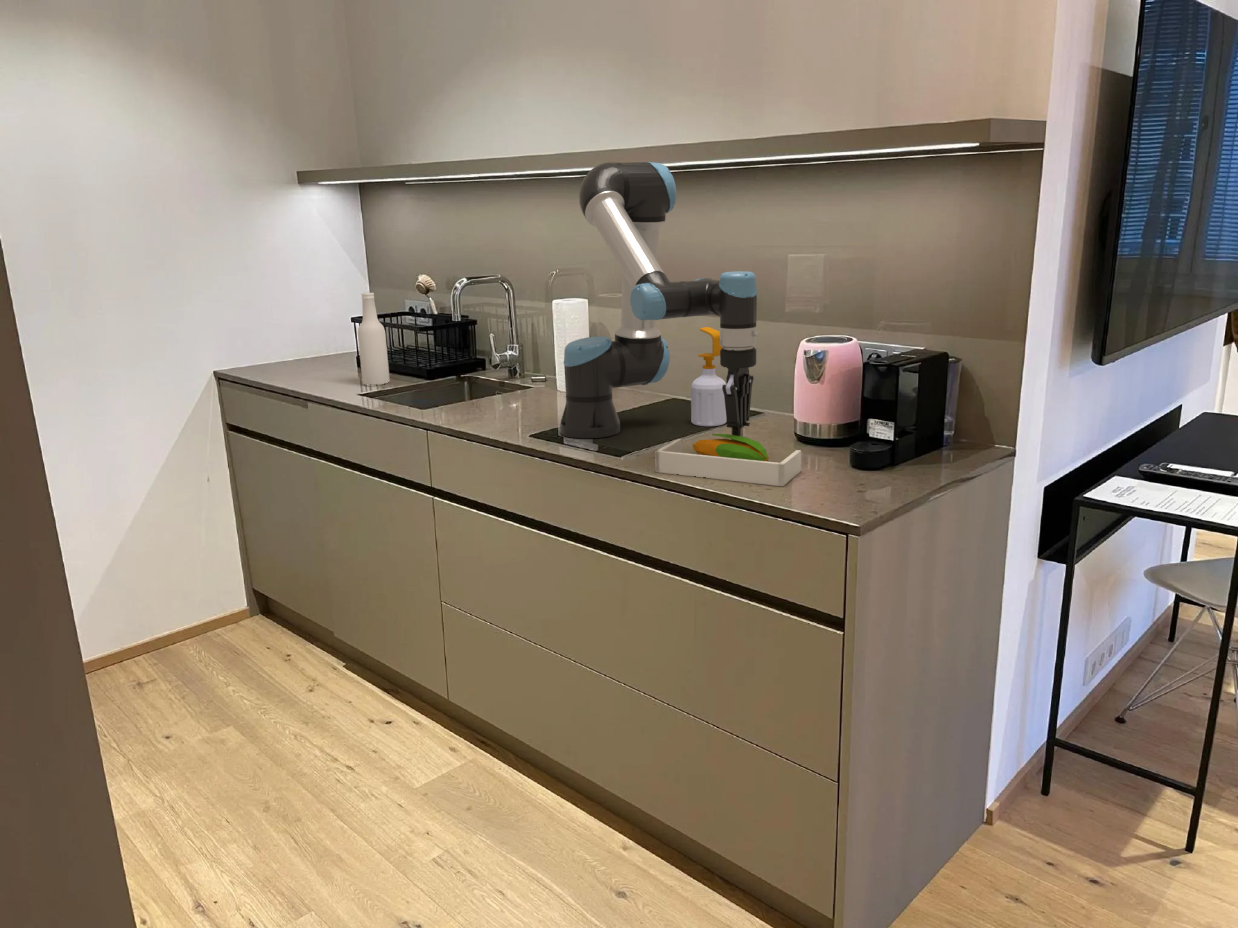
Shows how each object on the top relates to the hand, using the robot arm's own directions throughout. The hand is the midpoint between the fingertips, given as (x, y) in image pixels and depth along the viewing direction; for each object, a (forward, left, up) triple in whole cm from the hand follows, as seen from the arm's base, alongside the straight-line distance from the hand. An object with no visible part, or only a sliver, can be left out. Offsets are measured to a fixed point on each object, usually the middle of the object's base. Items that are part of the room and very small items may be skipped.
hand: (738, 456), depth 200 cm
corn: (-1, -4, -2) cm, 5 cm away
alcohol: (-146, +51, -2) cm, 155 cm away
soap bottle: (-21, +36, -2) cm, 41 cm away
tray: (0, -6, -2) cm, 6 cm away
